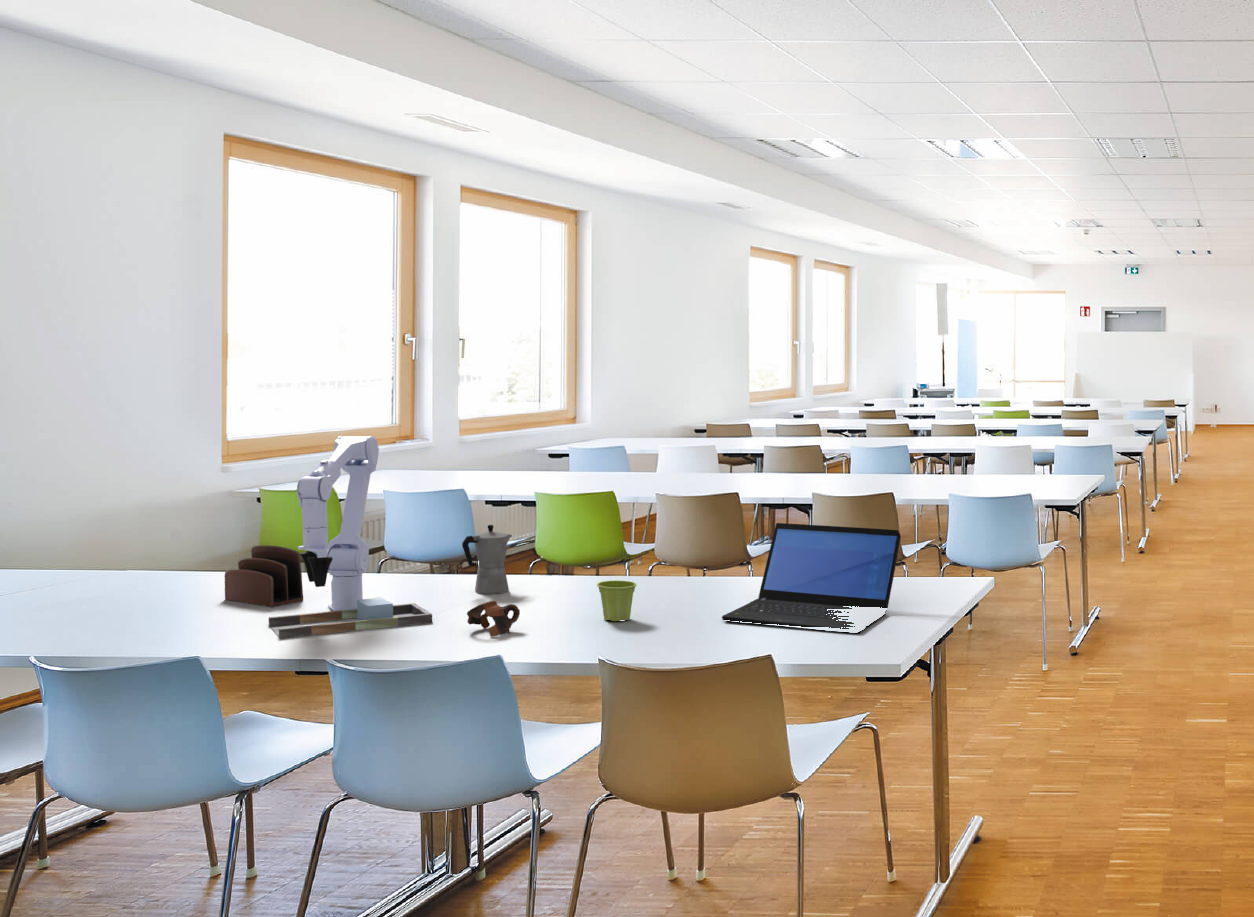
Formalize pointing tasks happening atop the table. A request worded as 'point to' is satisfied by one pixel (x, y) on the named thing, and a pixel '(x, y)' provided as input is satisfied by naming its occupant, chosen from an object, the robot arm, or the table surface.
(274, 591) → the letter holder
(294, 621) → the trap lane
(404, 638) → the table surface
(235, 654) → the table surface
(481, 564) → the coffeepot
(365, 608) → the blue block
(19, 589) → the table surface
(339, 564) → the robot arm
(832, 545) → the laptop
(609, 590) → the plant pot
